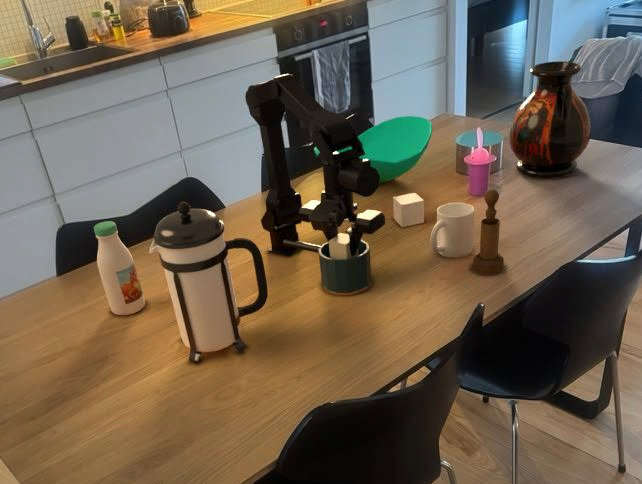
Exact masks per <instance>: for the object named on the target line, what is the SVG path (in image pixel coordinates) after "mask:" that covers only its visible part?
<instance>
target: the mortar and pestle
mask: <svg viewBox="0 0 642 484" xmlns="http://www.w3.org/2000/svg"><path fill="white" fill-rule="evenodd" d="M483 199H484V201H485V203H486V205H487V209H485V217H486V218H482V219H481V221H480V240H479V252H478V253H477V254H476V255H474V256H473V259H472V269H473V271H475V272H476V273H478V274H482V275H483V274H484V275H496V274H499V273H501V272H502V271H503V270H504V265H505V263H504V262H505V259H504V256H502V255H501V254H500V253H499V241H500V240H499V239H500V227H501V226H500V225H501V220H500V219H499V218H497V217H496V215H497V212H498V210H497V209H496V207H495V206H496V204H497V203H498V201H499V199H500V194H499V192H498V190H496V189H495V188H490V189H487V190H486V191H485V192H484V195H483Z"/></svg>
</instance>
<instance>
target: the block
mask: <svg viewBox="0 0 642 484" xmlns="http://www.w3.org/2000/svg"><path fill="white" fill-rule="evenodd" d="M329 250H330V258H332V259H348V258H353V257H356V256H358V255H359V254H358V248H357V251H356V254H355V255H354V256H351V252H350V241H349V235H348V234H347V233H342V232H340V233H339V232H338V235H336V236H335V237H334V238H332V239H331V240H329Z"/></svg>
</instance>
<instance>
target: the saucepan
mask: <svg viewBox="0 0 642 484" xmlns="http://www.w3.org/2000/svg"><path fill="white" fill-rule="evenodd" d="M283 245H284V246H289V247H293V248H298V250H302V251H303V250H304V251H307V252H312V253H317V254H318V259H319V261H318V262H319V269H320V278H321V286H322V289H323V291H325V292H327V293H328V294H331V295H335V296H353V295H356V294H360V293H362V292H364V291H366V290H367V289H369V288H370V286H371V285H372V267H371V266H372V264H371V252H370V251H371V249H370V248H371V247H370V243H368V242H367V241H365V240H363V239H361V241H360V243H359V246H358V254H359V255H358V256H356V257H353V258H348V259H332V258H330V250H329V243H328V241H327V242H324V243H322V244H321V245H317V244H313V243H308V242H303V241H300V240H299V241H294V240H290V239H284V241H283Z"/></svg>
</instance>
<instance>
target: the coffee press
mask: <svg viewBox="0 0 642 484" xmlns="http://www.w3.org/2000/svg"><path fill="white" fill-rule="evenodd" d="M176 208H177V211H175V212H172V213H170V214H167V215H166V216H165V217H163V218H162V219H160V221H159V222H158V223H157V224H156V227H155V231H154V233H153V240H152V242H151V245H150V247H149V251H148V254H150V255H151V254H155V253H158V256H159V260H160V265H161V266H162V268H163V270H164V271H163V272H164V275H165V278H166V282H167V286H168V287H167V288H168V290H169V294H170V295H169V296H170V299H171V302H172V303H171V304H172V307H173V311H174V314H175V319H176V322H177V326H178V331H179V334H180V337H181V340H182V343H183V345H184V346H185V347H187V348H188V349H189V355H188V362H190V363H193V364H198V363H199V361H200V359H201V355H202V353H212V352H217V351H221V350H224V349H226V348H228V347H230V346H232V347H233V348H234V349H235V350H236V351H238V352H240V353H242V352H243V351H244V350H245V349H246V348H247V344H246V343H245V342H244V340H243V339H242V338H241V333H242V325H241V318H244V317H246V316H249V315H252V314H254V313H256V312H259V311H260V310H261V309H262V308H263V307H264V306H265V305H266V303H267V301H268V297H269V294H268V293H269V292H268V291H269V290H268V282H267V277H266V271H265V264H264V259H263V255H262V252H261V250H260V248H259V247H258V245H257V244H256V243H255V242H254V241H252V240H251V239H249V238H245V237H236V238H235V237H234V239H231V240H226V239H225V235H224V232H225V223H224V222H223V220H221V219H220V218H219V217H218V215H217V214H216V213H215V212H213V211H211V210H207V209H203V208H191V205H190V204H189V203H188V202H186V201H181V202H179V203H178V205H177V207H176ZM233 249H245V250H247V251H248V252H249V253H250V254H251V256H252V260H253V261H252V262H253V265H254V273H255V279H256V284H257V291H258V294H257V296H256V297H257V298H256V299H255V301H253V302H252V303H250V304H247V305H244V306H238V304H237V298H236V293H235V288H234V283H233V278H232V273H231V272H232V271H231V267H230V262H229V257H228V255H229V250H233Z"/></svg>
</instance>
